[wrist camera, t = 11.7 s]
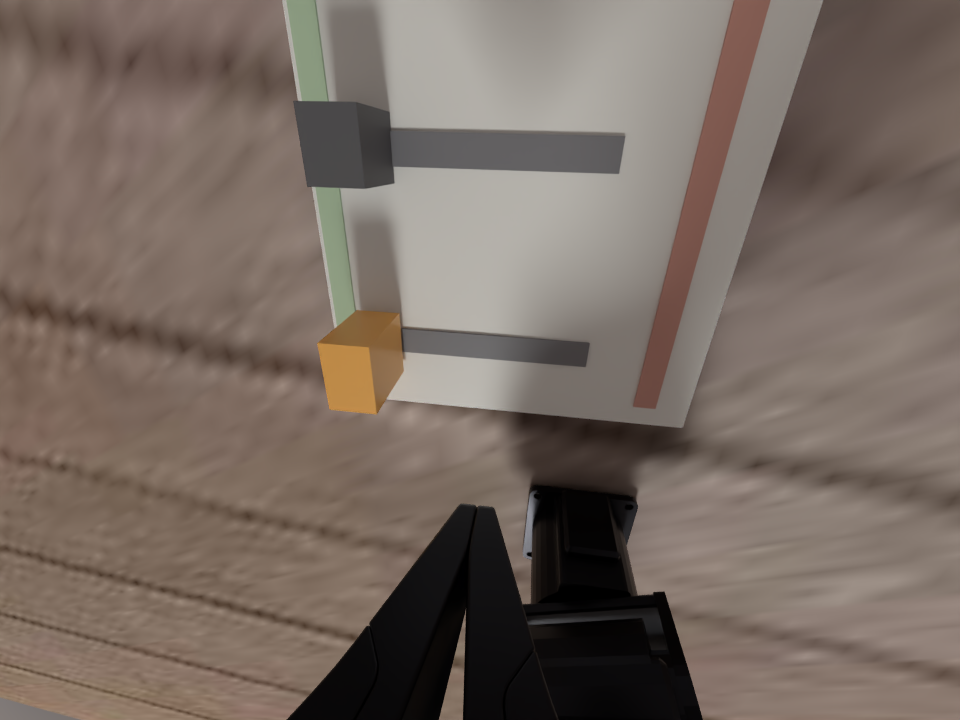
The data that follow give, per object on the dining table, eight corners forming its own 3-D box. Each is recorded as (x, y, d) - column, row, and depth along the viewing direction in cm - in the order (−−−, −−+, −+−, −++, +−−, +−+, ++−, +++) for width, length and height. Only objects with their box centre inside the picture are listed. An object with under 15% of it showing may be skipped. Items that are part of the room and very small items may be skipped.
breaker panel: (670, 404, 21) (705, 472, 16) (360, 376, 22) (316, 430, 18) (860, -226, 11) (1079, -487, 6) (284, -187, 13) (149, -371, 8)
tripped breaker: (403, 371, 19) (376, 414, 16) (364, 367, 19) (329, 409, 16) (399, 313, 18) (368, 347, 14) (356, 309, 18) (317, 343, 15)
